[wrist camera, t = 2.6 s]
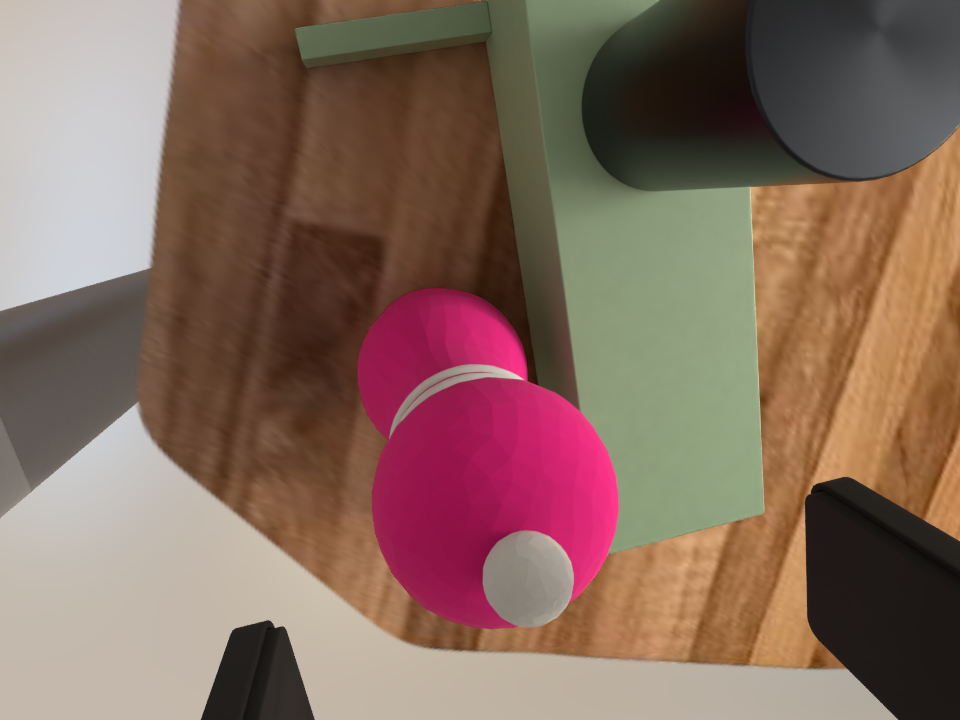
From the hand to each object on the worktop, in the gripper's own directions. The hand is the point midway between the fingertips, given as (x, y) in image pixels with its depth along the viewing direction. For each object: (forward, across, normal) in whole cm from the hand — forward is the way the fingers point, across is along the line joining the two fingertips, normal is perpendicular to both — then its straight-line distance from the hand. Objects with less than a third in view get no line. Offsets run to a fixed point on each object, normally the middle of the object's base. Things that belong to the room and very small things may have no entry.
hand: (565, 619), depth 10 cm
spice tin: (+14, -9, -9) cm, 19 cm away
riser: (+21, -4, -3) cm, 21 cm away
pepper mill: (+21, +1, 0) cm, 21 cm away
